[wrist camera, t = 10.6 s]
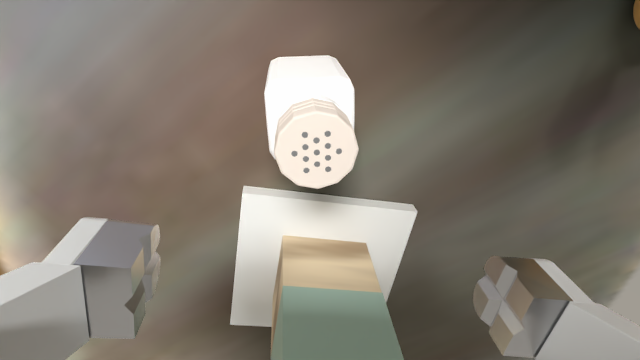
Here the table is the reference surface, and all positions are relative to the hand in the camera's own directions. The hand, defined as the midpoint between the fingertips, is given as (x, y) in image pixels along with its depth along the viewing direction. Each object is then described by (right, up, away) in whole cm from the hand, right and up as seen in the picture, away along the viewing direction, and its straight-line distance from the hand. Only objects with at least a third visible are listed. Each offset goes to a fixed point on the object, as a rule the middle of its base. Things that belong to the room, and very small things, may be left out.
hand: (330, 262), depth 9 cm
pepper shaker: (-1, +8, +13) cm, 16 cm away
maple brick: (0, -5, +19) cm, 19 cm away
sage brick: (0, -7, +14) cm, 16 cm away
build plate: (-1, -4, +19) cm, 20 cm away
